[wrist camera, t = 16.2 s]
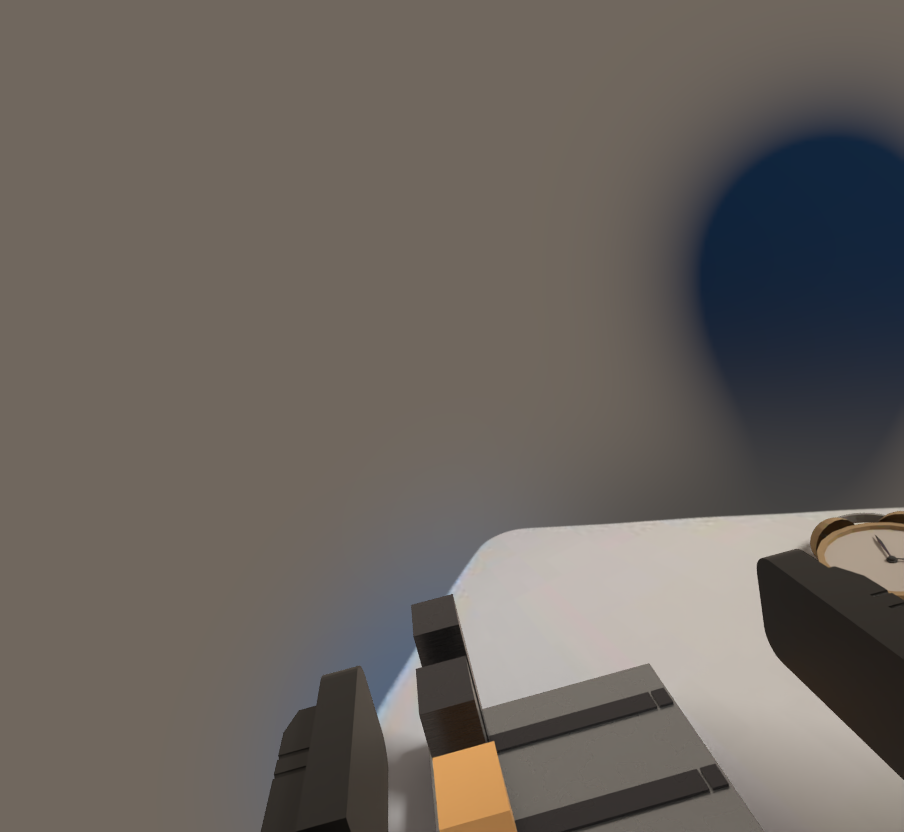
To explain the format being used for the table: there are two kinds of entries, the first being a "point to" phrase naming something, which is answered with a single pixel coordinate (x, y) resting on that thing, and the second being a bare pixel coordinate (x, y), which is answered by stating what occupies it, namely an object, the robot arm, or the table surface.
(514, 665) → the table surface
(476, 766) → the orange rectangular block
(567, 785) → the grey slotted base
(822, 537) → the alarm clock
